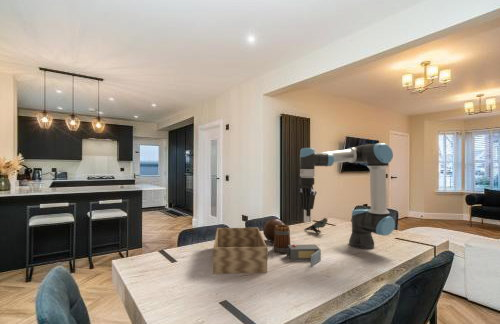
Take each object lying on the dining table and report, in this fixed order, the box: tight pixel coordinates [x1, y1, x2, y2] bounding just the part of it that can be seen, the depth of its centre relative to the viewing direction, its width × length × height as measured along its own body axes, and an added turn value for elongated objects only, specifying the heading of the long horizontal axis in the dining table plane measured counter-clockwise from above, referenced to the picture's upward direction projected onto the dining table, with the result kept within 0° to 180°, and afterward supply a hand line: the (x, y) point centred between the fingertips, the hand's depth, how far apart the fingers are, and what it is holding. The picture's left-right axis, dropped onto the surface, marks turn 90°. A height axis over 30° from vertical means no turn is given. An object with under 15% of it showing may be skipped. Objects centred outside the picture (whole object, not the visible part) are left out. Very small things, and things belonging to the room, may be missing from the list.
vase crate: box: [212, 227, 268, 275], centre depth 144 cm, size 26×40×12 cm, turn 5°
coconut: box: [262, 218, 284, 243], centre depth 176 cm, size 15×15×15 cm
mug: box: [272, 223, 291, 255], centre depth 159 cm, size 16×11×15 cm
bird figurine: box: [304, 217, 329, 235], centre depth 199 cm, size 13×10×20 cm
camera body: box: [286, 243, 321, 262], centre depth 146 cm, size 17×8×7 cm, turn 95°
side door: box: [310, 248, 322, 267], centre depth 137 cm, size 12×1×6 cm, turn 145°
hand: (306, 221), depth 138 cm, fingers closed
